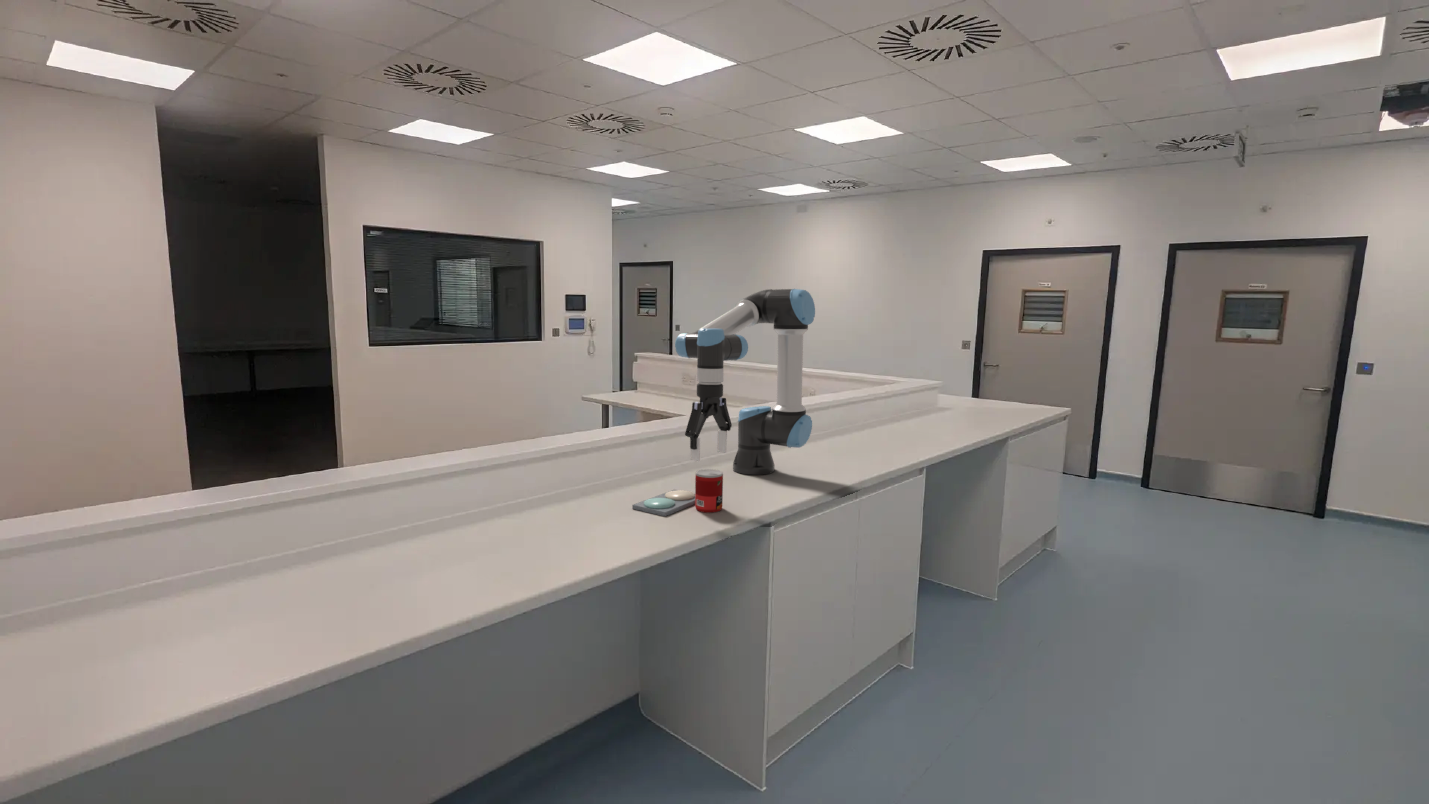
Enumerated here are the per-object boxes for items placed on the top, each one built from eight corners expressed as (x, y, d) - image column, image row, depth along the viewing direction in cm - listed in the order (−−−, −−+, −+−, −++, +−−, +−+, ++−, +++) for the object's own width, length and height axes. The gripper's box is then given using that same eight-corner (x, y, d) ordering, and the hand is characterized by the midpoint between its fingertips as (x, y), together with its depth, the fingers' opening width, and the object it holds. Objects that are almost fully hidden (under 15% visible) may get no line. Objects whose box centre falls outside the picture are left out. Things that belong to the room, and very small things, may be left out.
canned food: (722, 513, 186) (722, 475, 184) (694, 512, 186) (694, 475, 184) (722, 505, 193) (723, 469, 192) (695, 504, 193) (696, 468, 192)
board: (674, 493, 205) (674, 487, 205) (705, 499, 199) (705, 494, 198) (632, 508, 189) (632, 502, 188) (665, 516, 182) (665, 510, 182)
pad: (657, 498, 196) (657, 496, 196) (681, 503, 191) (681, 501, 191) (637, 505, 188) (637, 503, 188) (661, 510, 183) (661, 508, 183)
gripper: (722, 378, 197) (721, 447, 200) (672, 385, 176) (672, 462, 179) (744, 380, 193) (742, 450, 195) (695, 387, 172) (694, 466, 175)
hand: (708, 456), depth 187 cm, fingers open, 13 cm apart
